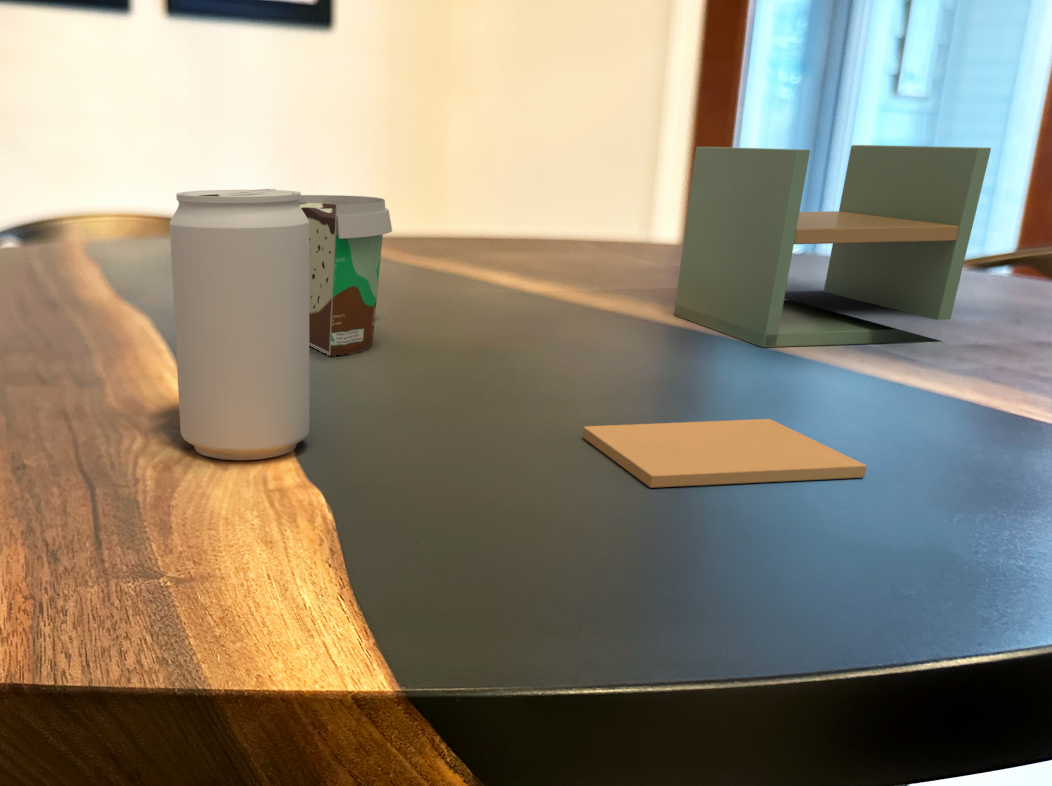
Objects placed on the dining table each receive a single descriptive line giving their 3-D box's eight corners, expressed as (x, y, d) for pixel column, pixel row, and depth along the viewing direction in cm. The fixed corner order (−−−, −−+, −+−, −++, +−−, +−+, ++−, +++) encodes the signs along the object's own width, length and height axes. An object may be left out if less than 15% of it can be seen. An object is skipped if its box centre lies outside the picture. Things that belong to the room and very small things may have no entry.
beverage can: (168, 436, 52) (152, 188, 48) (285, 423, 54) (281, 185, 50) (200, 471, 47) (187, 196, 42) (329, 456, 49) (330, 191, 44)
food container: (419, 353, 71) (425, 202, 67) (338, 361, 69) (339, 205, 65) (347, 324, 82) (348, 192, 78) (275, 330, 80) (273, 195, 76)
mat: (768, 429, 52) (770, 418, 52) (864, 478, 45) (867, 465, 45) (581, 437, 51) (583, 426, 51) (650, 488, 44) (651, 475, 44)
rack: (830, 310, 86) (862, 145, 81) (945, 341, 73) (992, 147, 68) (673, 314, 85) (696, 146, 80) (762, 347, 72) (796, 149, 67)
